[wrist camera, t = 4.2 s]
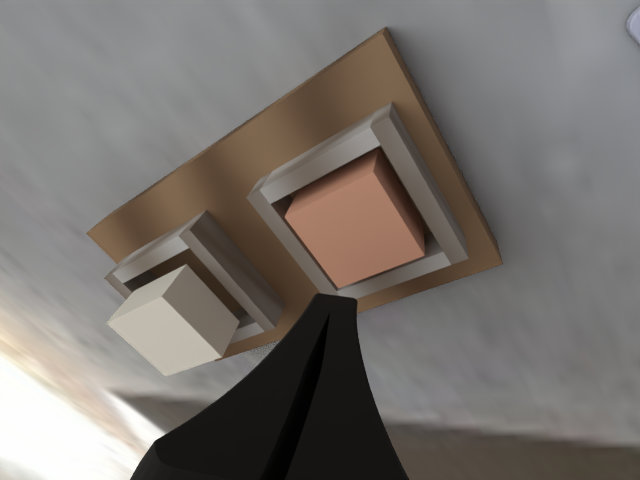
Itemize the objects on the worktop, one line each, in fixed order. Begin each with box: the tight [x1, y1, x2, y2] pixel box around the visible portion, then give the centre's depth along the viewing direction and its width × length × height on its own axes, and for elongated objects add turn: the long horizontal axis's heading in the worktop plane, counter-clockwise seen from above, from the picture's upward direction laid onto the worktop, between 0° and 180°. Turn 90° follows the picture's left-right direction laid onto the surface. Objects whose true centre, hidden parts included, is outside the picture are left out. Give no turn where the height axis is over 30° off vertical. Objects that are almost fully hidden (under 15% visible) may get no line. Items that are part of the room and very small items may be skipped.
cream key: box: [107, 264, 239, 376], centre depth 22 cm, size 4×4×2 cm
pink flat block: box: [285, 148, 425, 288], centre depth 19 cm, size 4×4×2 cm
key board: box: [86, 27, 503, 361], centre depth 22 cm, size 20×12×4 cm, turn 124°
